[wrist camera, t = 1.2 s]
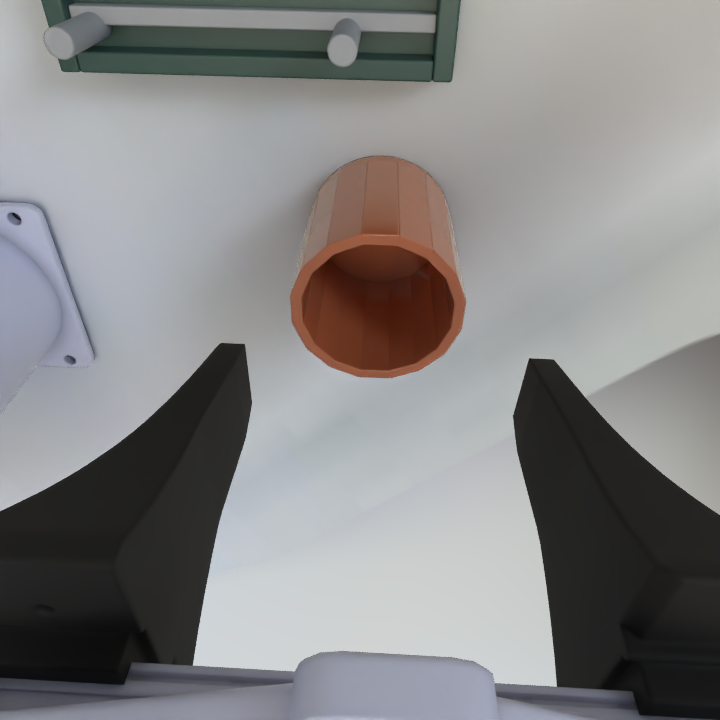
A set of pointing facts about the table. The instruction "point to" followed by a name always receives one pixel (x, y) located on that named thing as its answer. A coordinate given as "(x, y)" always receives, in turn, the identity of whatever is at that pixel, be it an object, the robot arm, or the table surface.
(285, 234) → the table surface
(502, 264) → the table surface
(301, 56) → the rack
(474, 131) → the table surface
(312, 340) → the cup
